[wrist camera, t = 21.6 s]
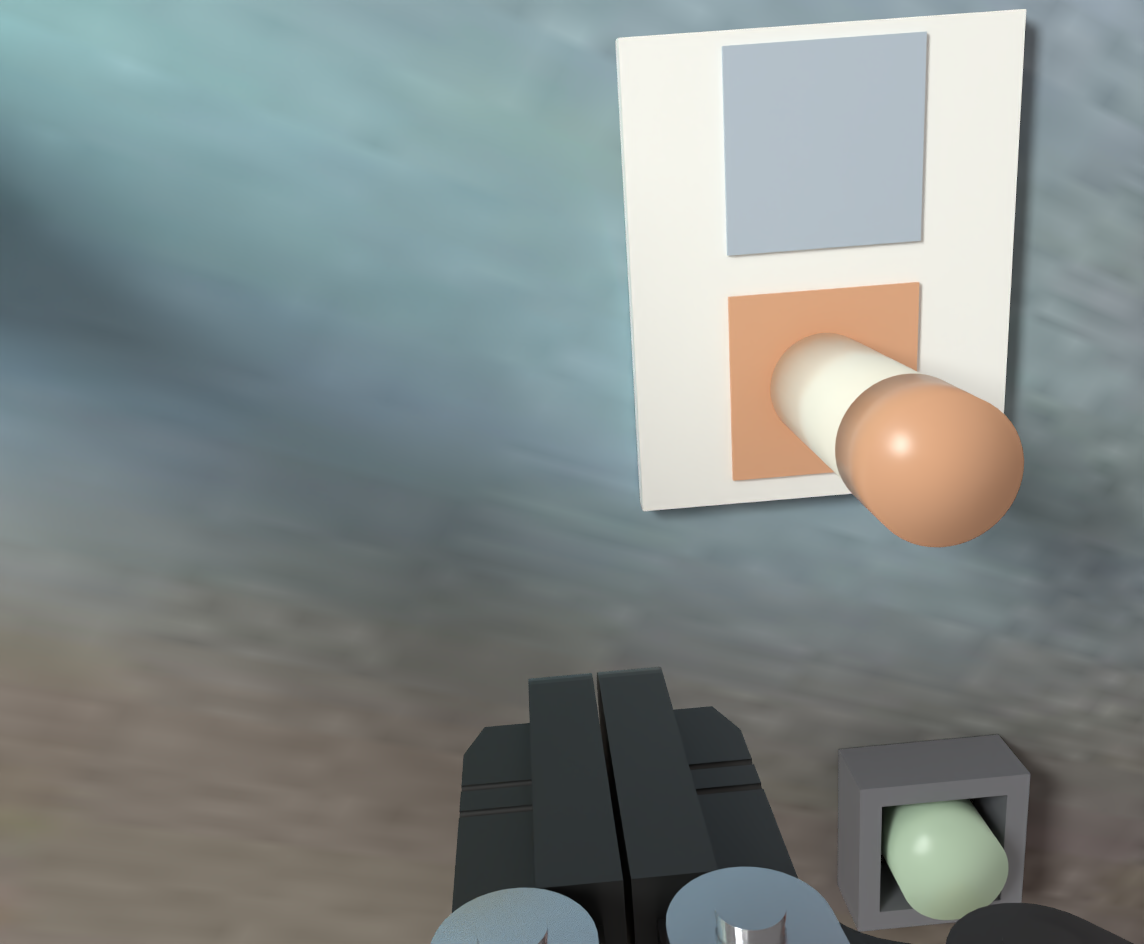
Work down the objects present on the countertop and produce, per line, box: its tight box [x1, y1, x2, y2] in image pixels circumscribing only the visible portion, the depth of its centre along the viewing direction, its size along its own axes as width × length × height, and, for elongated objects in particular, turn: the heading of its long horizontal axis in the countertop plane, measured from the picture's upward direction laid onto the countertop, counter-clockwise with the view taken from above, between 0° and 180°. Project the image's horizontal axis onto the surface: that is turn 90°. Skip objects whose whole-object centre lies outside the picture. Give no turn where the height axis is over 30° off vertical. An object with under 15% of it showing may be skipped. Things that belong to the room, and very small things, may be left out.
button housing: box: [838, 735, 1030, 932], centre depth 46 cm, size 7×7×3 cm
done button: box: [881, 799, 1008, 920], centre depth 45 cm, size 4×4×4 cm
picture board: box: [615, 9, 1026, 511], centre depth 39 cm, size 14×17×1 cm
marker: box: [770, 333, 1024, 547], centre depth 34 cm, size 4×4×12 cm
